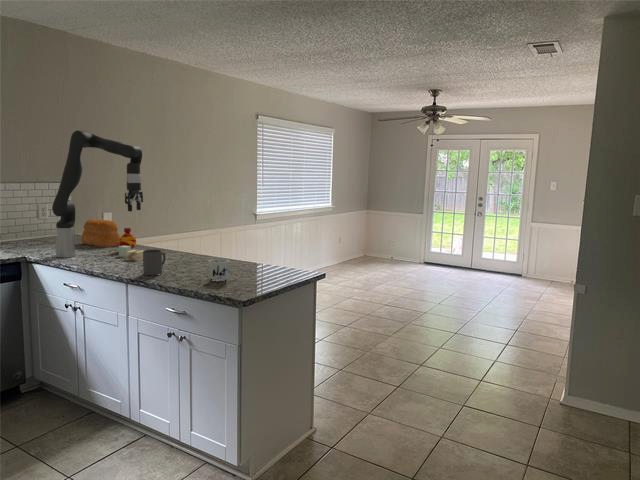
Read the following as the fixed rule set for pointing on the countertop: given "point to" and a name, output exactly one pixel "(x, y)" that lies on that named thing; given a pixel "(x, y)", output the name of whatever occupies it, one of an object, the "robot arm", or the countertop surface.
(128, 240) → the potion bottle
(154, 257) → the mug
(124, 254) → the sage block
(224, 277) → the mug
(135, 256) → the oak block
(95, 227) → the bread
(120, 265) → the countertop surface
